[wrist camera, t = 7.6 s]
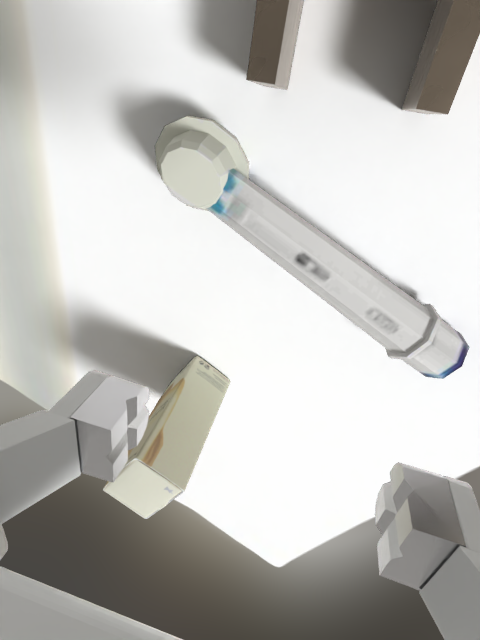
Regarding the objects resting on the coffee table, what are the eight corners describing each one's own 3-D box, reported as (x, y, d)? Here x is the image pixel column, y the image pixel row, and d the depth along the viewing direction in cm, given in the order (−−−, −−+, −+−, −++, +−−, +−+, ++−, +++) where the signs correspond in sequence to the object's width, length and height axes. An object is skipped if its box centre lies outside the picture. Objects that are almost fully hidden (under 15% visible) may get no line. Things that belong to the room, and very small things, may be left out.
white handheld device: (422, 395, 27) (117, 187, 21) (401, 340, 32) (154, 163, 26) (488, 353, 24) (158, 99, 18) (452, 301, 30) (190, 93, 24)
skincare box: (197, 352, 35) (135, 455, 24) (232, 380, 35) (187, 491, 25) (164, 388, 38) (98, 491, 28) (197, 412, 38) (145, 522, 28)
